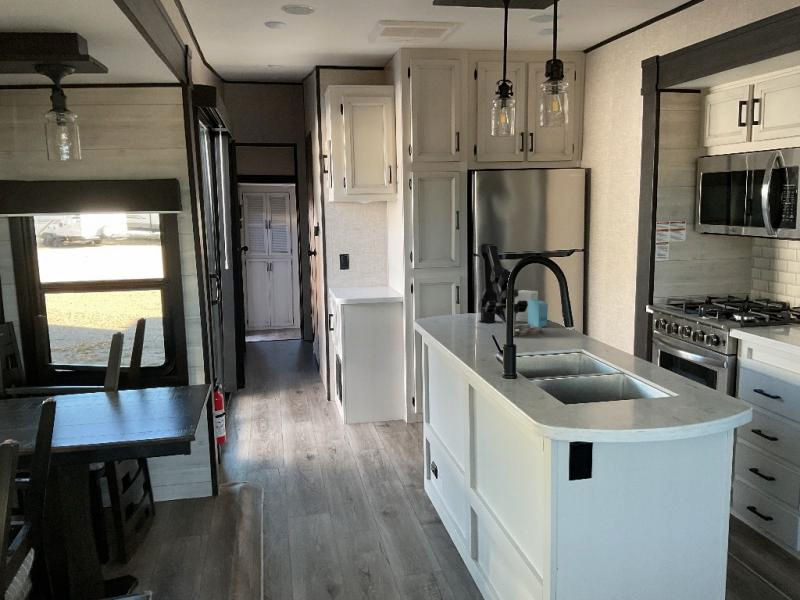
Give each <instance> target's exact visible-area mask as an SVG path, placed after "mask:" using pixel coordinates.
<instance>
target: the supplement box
mask: <svg viewBox="0 0 800 600" xmlns="http://www.w3.org/2000/svg"><path fill="white" fill-rule="evenodd" d="M538 295H539V292H538V290H526V289H521V290H518V296H517V297H515V298H514V299H515V300H514V304H517V303H518V301H524V300H526V301H527V302H528V301H529V300H539V299H538V297H539V296H538ZM515 322H524V323H528V306H527V309H526V311H525V312H518V313H517V314H516V321H515Z"/></svg>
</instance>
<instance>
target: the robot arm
mask: <svg viewBox="0 0 800 600" xmlns="http://www.w3.org/2000/svg"><path fill="white" fill-rule="evenodd" d="M477 251H478V252H477V253H479V255H478V256H479V258H480V259H481V261H482V274H483V291H482V293H481V295H480V299H479V303H478V305H477V306H478V307H477V308H478V310H479V311H480V319H479V320H478V322H479V323H484V324H491V323H497V320H496V316H497V317H499V319H501V320H502V322H503V321H504V322H505V323H506V318H505V315H504V312H503V311H504V310H507V309H506V299H507V283H508V278H509V275H510V273H512V272H511V271H509V270H508V269H507V268H505V267H503V265H502V263H501V259H500V256H499V253H498V251H499V250H498V245H496V244H494V243H492V242H489V243H488V242H484V243H483V242H480V244H479V245H478V246H477ZM494 284H495V290H494ZM513 290H514V298H513V299H515V297H517V296H518V291H519V290H518V288H517V289H513ZM513 304H514V312H515V322H517V321H516V314H517V313H518V312H525V311H526V309H527V306H528V302H527V301H526V300H524V301H518V303H517V304H515V303H513Z"/></svg>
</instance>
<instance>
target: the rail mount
mask: <svg viewBox="0 0 800 600" xmlns="http://www.w3.org/2000/svg"><path fill="white" fill-rule="evenodd" d="M542 328H543V327H535V326H533V327H531V325H530V324H528V323H524V324H523V323H522V324H515V336H527V335H537V334H543V333H544V331H543V330H542Z"/></svg>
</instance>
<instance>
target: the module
mask: <svg viewBox="0 0 800 600" xmlns="http://www.w3.org/2000/svg"><path fill="white" fill-rule="evenodd" d="M506 310H507V309H504V310H503V312H504V315H505V318H506ZM515 325H516V321H515V312H514V338H515V336H516V334H515ZM502 335H503V336H504V337H506V323H505V322H504V321H503V320H502ZM506 338H507V337H506Z"/></svg>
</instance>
